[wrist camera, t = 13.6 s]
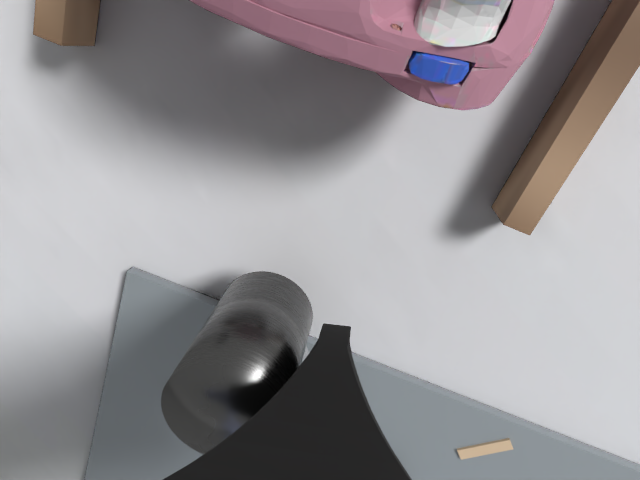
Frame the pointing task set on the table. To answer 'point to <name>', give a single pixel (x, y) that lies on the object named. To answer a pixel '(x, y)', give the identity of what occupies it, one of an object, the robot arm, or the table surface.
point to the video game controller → (407, 39)
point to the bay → (547, 142)
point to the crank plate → (378, 385)
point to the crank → (238, 359)
